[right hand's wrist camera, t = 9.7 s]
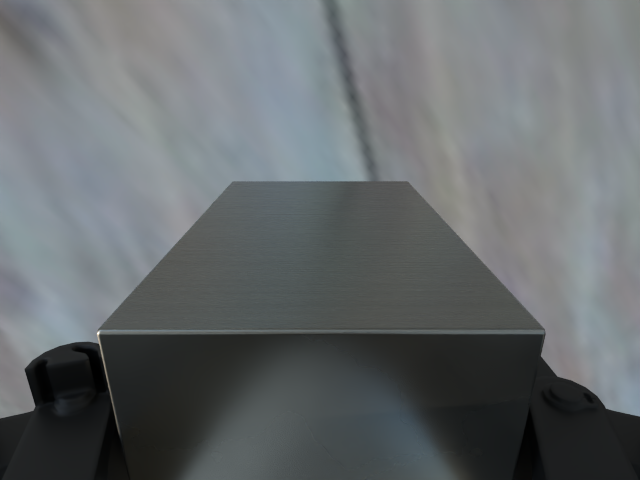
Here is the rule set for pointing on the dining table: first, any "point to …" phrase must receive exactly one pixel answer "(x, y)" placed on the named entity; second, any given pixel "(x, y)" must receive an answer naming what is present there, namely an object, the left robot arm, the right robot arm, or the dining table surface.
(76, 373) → the right robot arm
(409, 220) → the box
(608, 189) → the dining table surface
